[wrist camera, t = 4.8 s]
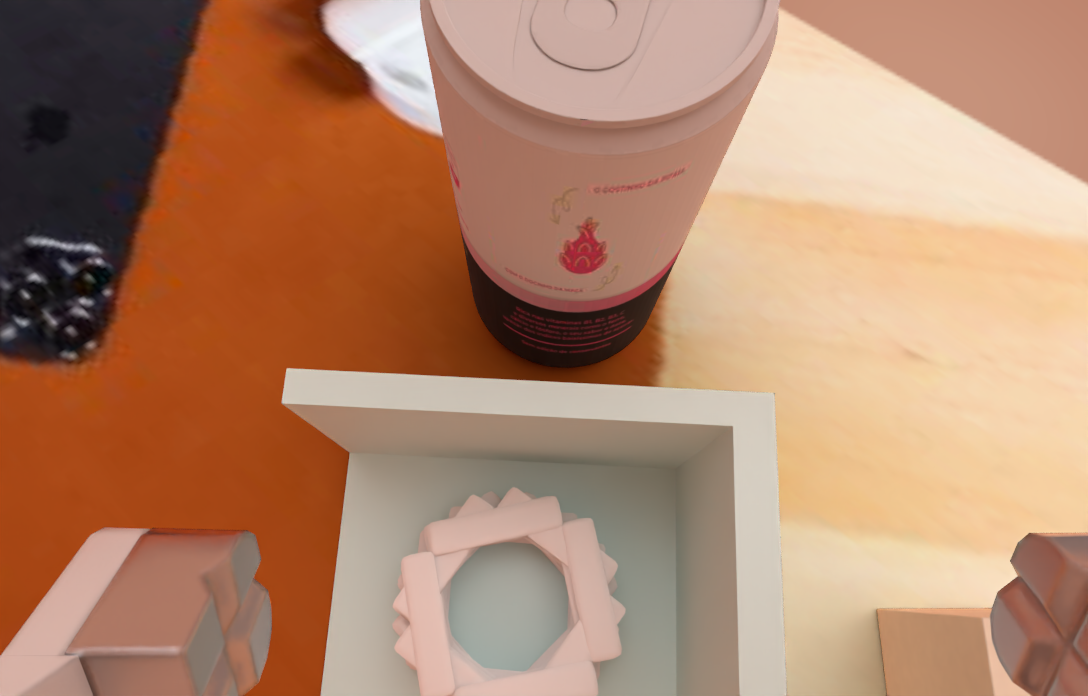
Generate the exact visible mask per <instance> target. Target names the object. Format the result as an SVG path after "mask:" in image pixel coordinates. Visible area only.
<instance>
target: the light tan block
mask: <svg viewBox="0 0 1088 696" xmlns="http://www.w3.org/2000/svg"><path fill="white" fill-rule="evenodd" d="M991 610H992V608H920V609H877V614H878V622H879V630H880V639H881V647H882V656H883V664H884V673H885V681H886V690H887V696H1032V695H1030V694H1029V693H1027V692H1026V691H1024V690H1023V689H1022V688H1020V687H1019V686H1017V685H1016V684H1014V683H1013V682H1012V681H1011V679H1010V678H1009V676H1008V674H1007V673H1006V671H1005V670H1004V668H1003V666H1002V665H1001V663H1000V661H999V659H998V656H997V654H996V651H995V648H994V645H993V643H992V637H991V624H990V613H991Z"/></svg>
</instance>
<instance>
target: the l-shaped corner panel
mask: <svg viewBox="0 0 1088 696" xmlns="http://www.w3.org/2000/svg"><path fill="white" fill-rule="evenodd" d="M282 404H283V405H285V406H286V407H287V408H289V409H290V410H291V411H293V412H294V413H296V414H297V415H298V416H300V417H301V418H303V419H304V420H305V421H307V422H308V423H309V424H311V425H312V426H314V427H315V428H316V429H318V430H319V431H320V432H322V433H323V434H325V435H326V436H327V437H329V438H330V439H332V440H333V441H334V442H336V443H337V444H338V445H340V446H341V447H343V448H344V449H345V450H347V451H348V452H350V455H349V463H348V471H347V480H346V488H345V496H344V505H343V513H342V521H341V530H340V538H339V546H338V555H337V563H336V571H335V580H334V588H333V596H332V605H331V613H330V621H329V629H328V638H327V646H326V654H325V663H324V671H323V679H322V688H321V696H787V682H786V658H785V634H784V609H783V585H782V561H781V536H780V512H779V488H778V463H777V439H776V415H775V393H765V392H745V391H725V390H706V389H686V388H666V387H646V386H627V385H607V384H587V383H567V382H548V381H528V380H508V379H488V378H469V377H449V376H429V375H409V374H390V373H370V372H350V371H330V370H311V369H291V368H287V370H286V376H285V383H284V390H283V397H282Z"/></svg>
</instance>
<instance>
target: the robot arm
mask: <svg viewBox="0 0 1088 696" xmlns="http://www.w3.org/2000/svg"><path fill="white" fill-rule="evenodd" d="M260 561H261V556H260V552H259V548H258V544H257V540H256V536H255V535H254V534H252V533H251V532H249V531H247V530H212V529H175V528H152V529H136V528H102V529H101V530H99V531H97V532H95V533H93V534H91V535H90V536H89V537H88V538H87V540H86V541H85V542H84V544H83V545H82V546H81V548H80V549H79V550H78V552H77V553H76V555H75V556H74V557H73V559H72V560H71V561H70V563H69V564H68V565H67V567H66V568H65V569H64V571H63V572H62V573H61V575H60V576H59V577H58V579H57V580H56V581H55V583H54V584H53V585H52V587H51V588H50V590H49V591H48V592H47V594H46V595H45V596H44V598H43V599H42V600H41V602H40V603H39V604H38V606H37V607H36V608H35V610H34V611H33V612H32V614H31V615H30V616H29V618H28V619H27V620H26V622H25V623H24V625H23V626H22V627H21V629H20V630H19V631H18V633H17V634H16V635H15V637H14V638H13V639H12V641H11V642H10V643H9V645H8V646H7V647H6V649H5V650H4V651H3V653H2V654H1V655H0V696H243V695H244V694H246V693H247V692H248V691H249V690H250V689H251V688H253V687H254V686H255V685H256V684H257V683H258V682H259V680H260V677H261V674H262V671H263V668H264V665H265V662H266V659H267V655H268V649H269V643H270V637H271V630H272V621H271V604H270V599H269V594H268V590H267V589H265V588H264V587H263V586H262V585H261V584H260V583H259V582H258V581H256V580H255V579H254V575H255V573H256V570H257V568H258V566H259V563H260ZM1010 562H1011V564H1012V565H1013V567H1014V569H1015V571H1016V573H1017V575H1018V577H1017V578H1015V579H1014V580H1013V581H1011V582H1010V583H1009V584H1007V585H1006V586H1005V587H1003V588H1002V589H1001V590H1000V591H998V593H997V596H996V598H995V601H994V604H993V607H992V610H991V613H990V624H991V637H992V643H993V645H994V648H995V651H996V654H997V656H998V659H999V661H1000V663H1001V665H1002V666H1003V668H1004V670H1005V671H1006V673H1007V674H1008V676H1009V678H1010V679H1011V681H1012V682H1013V683H1014V684H1016V685H1017V686H1019V687H1020V688H1022V689H1023V690H1024V691H1026V692H1027V693H1029V694H1030V695H1032V696H1088V533H1029V534H1028V535H1027V536H1025V537H1024V538H1023V539H1022V540H1021V541H1020V542H1018V544H1017V546H1016V549H1015V551H1014V553H1013V556H1012V558H1011V560H1010Z"/></svg>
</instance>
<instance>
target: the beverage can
mask: <svg viewBox="0 0 1088 696" xmlns="http://www.w3.org/2000/svg"><path fill="white" fill-rule="evenodd" d="M779 4H780V0H420V10H421V18H422V25H423V30H424V36H425V41H426V46H427V52H428V57H429V62H430V68H431V73H432V78H433V84H434V89H435V94H436V100H437V105H438V110H439V116H440V121H441V126H442V132H443V137H444V142H445V148H446V153H447V158H448V164H449V169H450V174H451V180H452V185H453V190H454V196H455V201H456V206H457V212H458V217H459V222H460V228H461V233H462V238H463V244H464V249H465V254H466V260H467V265H468V270H469V276H470V281H471V286H472V292H473V297H474V301H475V304H476V307H477V310H478V312H479V314H480V317H481V319H482V320H483V322H484V324H485V325H486V327H487V328H488V330H489V331H490V332H491V333H492V335H493V336H494V337H495V338H496V339H497V340H498V341H499V342H500V343H501V344H503V345H504V346H505V347H506V348H508V349H509V350H510V351H512V352H513V353H515V354H517V355H519V356H520V357H522V358H524V359H527V360H529V361H532V362H535V363H538V364H542V365H546V366H551V367H564V368H568V367H580V366H586V365H590V364H594V363H597V362H600V361H602V360H605V359H607V358H609V357H611V356H613V355H614V354H616V353H618V352H619V351H621V350H622V349H623V348H625V347H626V346H627V345H628V344H629V343H631V342H632V341H633V340H634V339H635V337H636V336H637V335H638V334H639V333H640V331H641V330H642V329H643V327H644V326H645V324H646V322H647V320H648V318H649V316H650V314H651V312H652V310H653V308H654V306H655V304H656V301H657V299H658V297H659V295H660V293H661V291H662V289H663V287H664V284H665V282H666V280H667V278H668V276H669V274H670V272H671V269H672V267H673V265H674V263H675V261H676V259H677V257H678V254H679V252H680V250H681V248H682V246H683V244H684V242H685V239H686V237H687V235H688V233H689V231H690V229H691V227H692V224H693V222H694V220H695V218H696V216H697V214H698V212H699V209H700V207H701V205H702V203H703V201H704V199H705V197H706V194H707V192H708V190H709V188H710V186H711V184H712V182H713V179H714V177H715V175H716V173H717V171H718V169H719V167H720V165H721V162H722V160H723V158H724V156H725V154H726V152H727V150H728V147H729V145H730V143H731V141H732V139H733V137H734V135H735V132H736V130H737V128H738V126H739V124H740V122H741V120H742V117H743V115H744V113H745V111H746V109H747V107H748V105H749V102H750V100H751V98H752V96H753V94H754V92H755V90H756V87H757V85H758V83H759V81H760V79H761V77H762V75H763V72H764V70H765V68H766V66H767V64H768V61H769V59H770V56H771V54H772V50H773V47H774V44H775V39H776V34H777V27H778V9H779Z"/></svg>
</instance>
